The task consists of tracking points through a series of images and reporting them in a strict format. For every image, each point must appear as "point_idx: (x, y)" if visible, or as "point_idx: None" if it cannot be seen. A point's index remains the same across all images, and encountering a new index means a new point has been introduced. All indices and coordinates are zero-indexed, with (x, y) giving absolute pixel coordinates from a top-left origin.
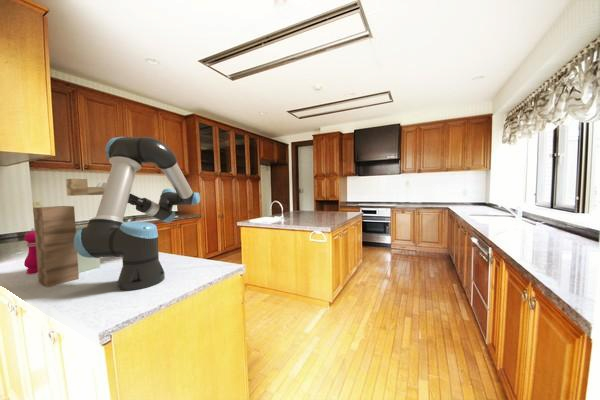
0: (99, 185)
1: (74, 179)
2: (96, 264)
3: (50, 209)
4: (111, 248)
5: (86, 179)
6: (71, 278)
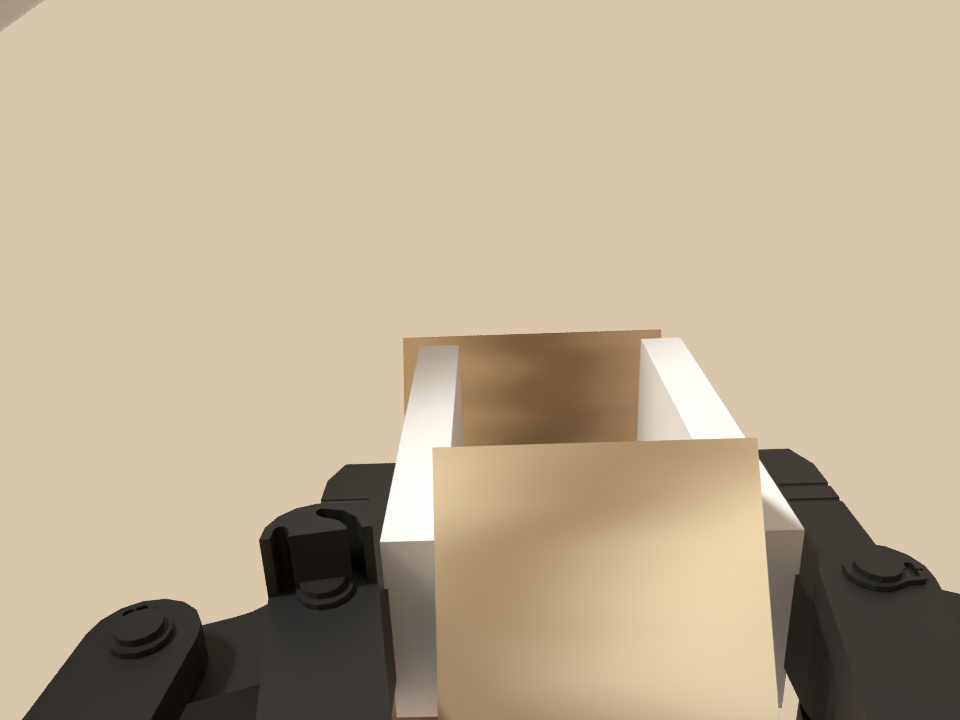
0: (646, 411)
1: None
2: None
3: None
4: None
5: (403, 347)
6: None
